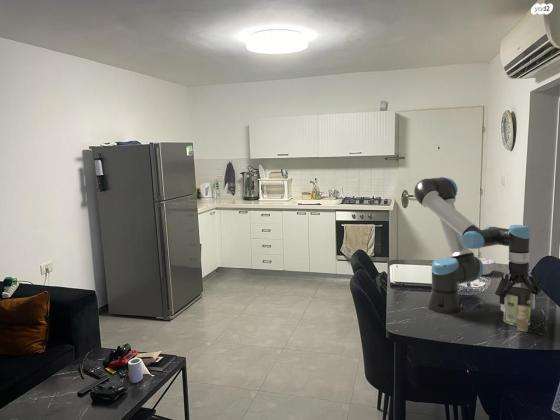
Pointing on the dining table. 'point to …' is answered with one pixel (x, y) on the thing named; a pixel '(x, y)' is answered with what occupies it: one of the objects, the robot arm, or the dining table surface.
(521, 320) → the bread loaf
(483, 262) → the paper bowls
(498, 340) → the dining table surface
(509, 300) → the coffee can
